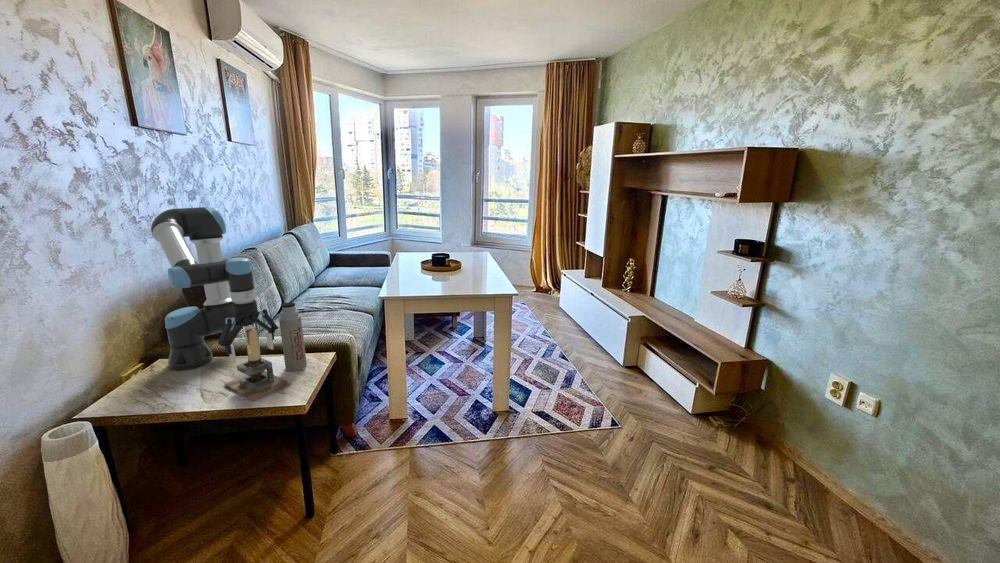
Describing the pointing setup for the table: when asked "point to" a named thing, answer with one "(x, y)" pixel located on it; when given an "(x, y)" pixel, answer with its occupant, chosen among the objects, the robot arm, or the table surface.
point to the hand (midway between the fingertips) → (252, 354)
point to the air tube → (253, 352)
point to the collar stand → (258, 388)
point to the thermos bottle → (292, 337)
